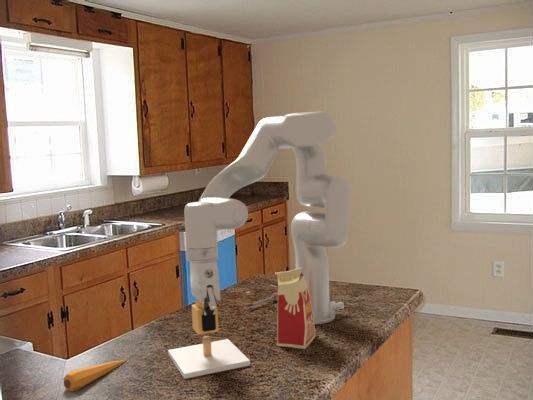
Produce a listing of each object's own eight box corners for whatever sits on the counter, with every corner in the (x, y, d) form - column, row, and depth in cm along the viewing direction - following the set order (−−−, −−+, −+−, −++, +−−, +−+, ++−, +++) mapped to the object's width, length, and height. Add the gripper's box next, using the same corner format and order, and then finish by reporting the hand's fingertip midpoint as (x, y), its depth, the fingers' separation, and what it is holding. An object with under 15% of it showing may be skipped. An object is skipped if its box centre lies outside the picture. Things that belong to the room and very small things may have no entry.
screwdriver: (248, 312, 174) (248, 303, 174) (241, 310, 176) (241, 301, 176) (300, 294, 192) (300, 285, 192) (294, 292, 194) (294, 284, 194)
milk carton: (315, 336, 151) (313, 263, 149) (306, 349, 143) (304, 272, 140) (283, 333, 154) (280, 262, 152) (272, 346, 146) (269, 270, 143)
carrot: (71, 398, 123) (76, 380, 122) (57, 387, 125) (63, 369, 124) (133, 371, 141) (138, 356, 140) (120, 362, 143) (125, 346, 142)
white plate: (228, 343, 149) (227, 322, 148) (250, 365, 134) (249, 342, 134) (168, 354, 143) (166, 332, 142) (184, 378, 128) (183, 354, 127)
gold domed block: (212, 325, 141) (210, 295, 140) (218, 331, 136) (217, 301, 135) (192, 328, 139) (191, 298, 138) (198, 334, 134) (197, 304, 133)
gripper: (228, 258, 129) (231, 335, 131) (206, 245, 145) (210, 314, 147) (196, 262, 126) (200, 340, 128) (178, 249, 142) (181, 319, 144)
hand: (205, 326), depth 137 cm, fingers closed on gold domed block, 4 cm apart
